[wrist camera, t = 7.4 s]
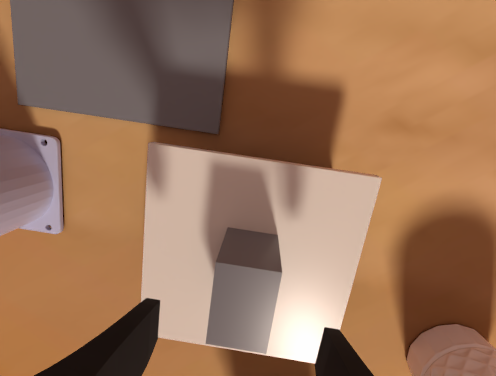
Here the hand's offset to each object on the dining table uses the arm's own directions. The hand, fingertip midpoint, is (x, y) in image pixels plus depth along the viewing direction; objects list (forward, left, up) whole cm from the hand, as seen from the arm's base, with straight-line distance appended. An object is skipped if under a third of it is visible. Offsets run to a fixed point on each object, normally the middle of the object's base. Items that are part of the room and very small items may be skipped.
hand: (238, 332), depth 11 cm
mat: (-11, +15, -10) cm, 21 cm away
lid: (0, 0, -6) cm, 6 cm away
